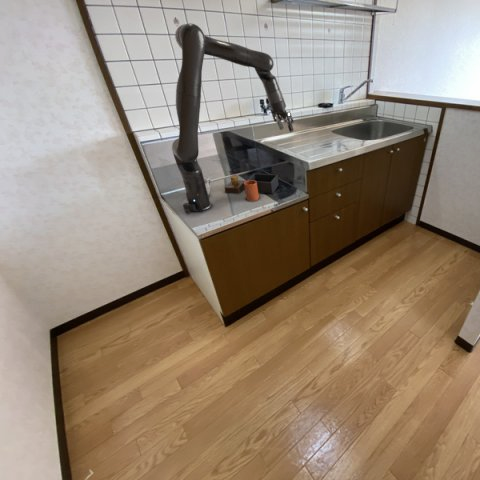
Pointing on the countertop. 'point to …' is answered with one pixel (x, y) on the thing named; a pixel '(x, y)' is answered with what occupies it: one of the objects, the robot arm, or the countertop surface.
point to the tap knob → (234, 180)
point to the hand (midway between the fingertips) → (286, 130)
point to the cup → (251, 190)
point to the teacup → (208, 185)
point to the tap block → (235, 187)
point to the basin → (265, 182)
